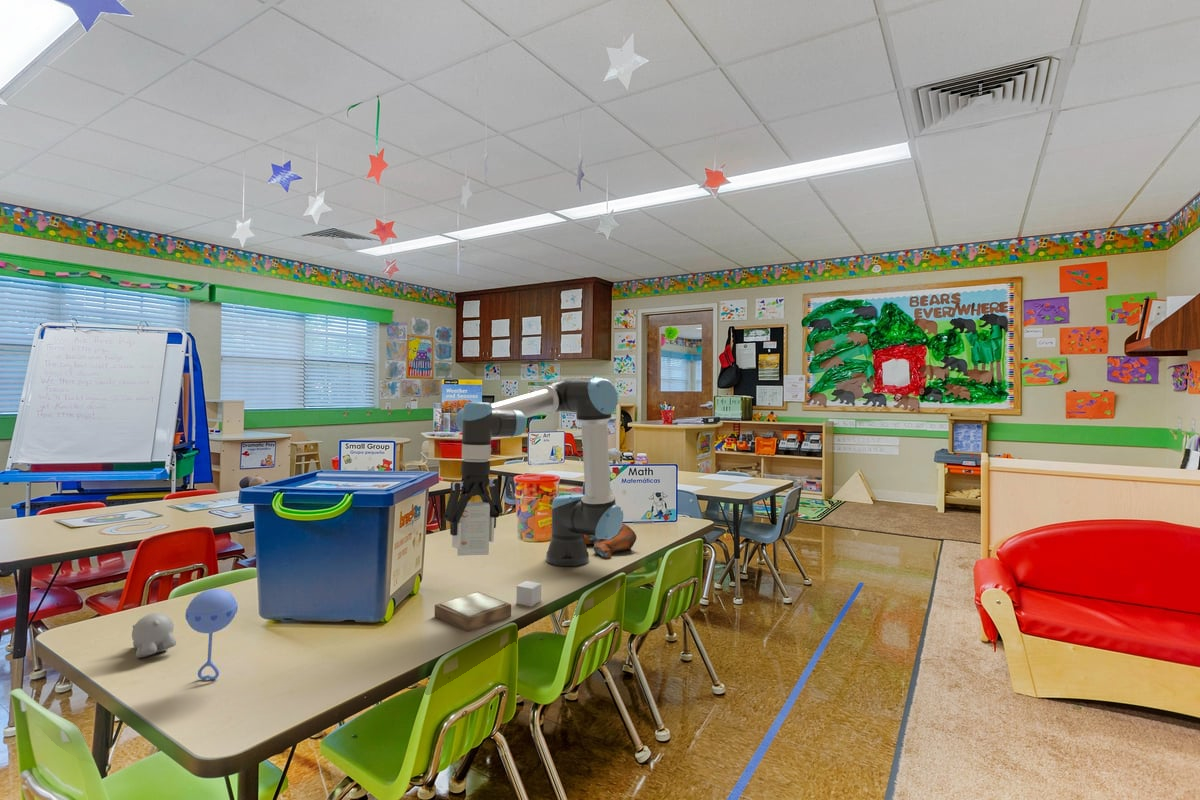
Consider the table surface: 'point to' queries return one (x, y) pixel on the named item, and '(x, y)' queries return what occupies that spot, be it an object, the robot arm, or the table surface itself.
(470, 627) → the stand
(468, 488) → the robot arm
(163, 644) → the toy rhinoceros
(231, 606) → the baby rattle
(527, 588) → the grey cube
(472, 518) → the small box
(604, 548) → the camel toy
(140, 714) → the table surface
